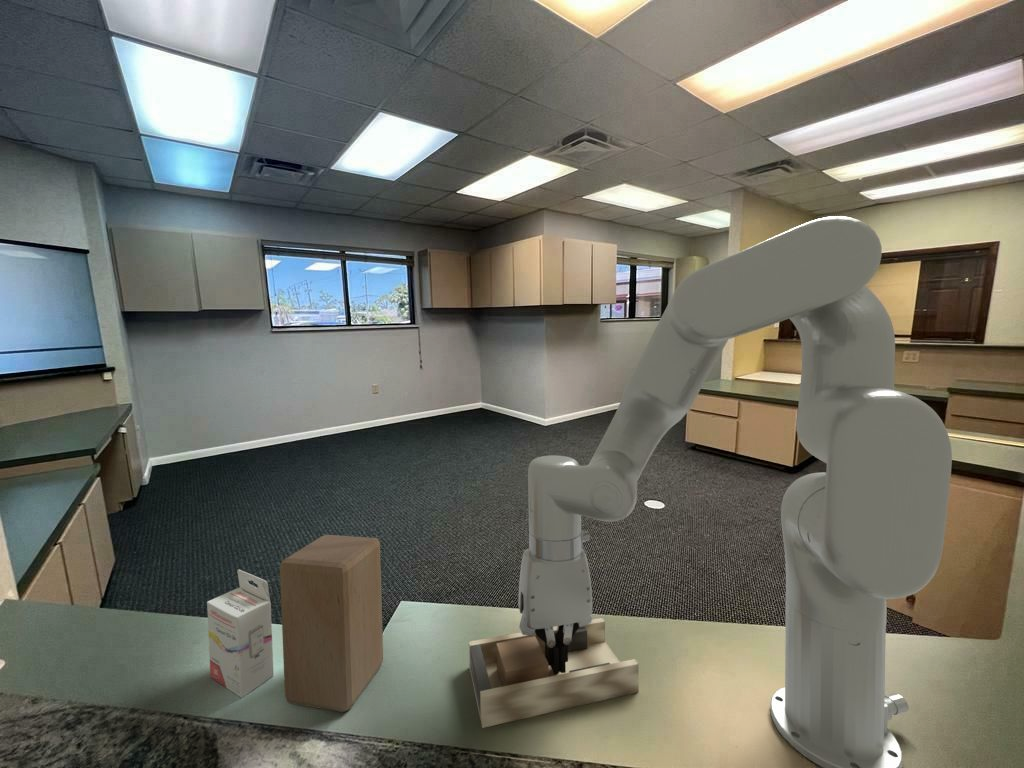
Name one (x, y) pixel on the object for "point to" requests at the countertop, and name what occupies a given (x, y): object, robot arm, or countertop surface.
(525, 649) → the block
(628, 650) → the countertop surface
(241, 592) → the ink cartridge box
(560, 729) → the countertop surface
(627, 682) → the chute
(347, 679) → the block
